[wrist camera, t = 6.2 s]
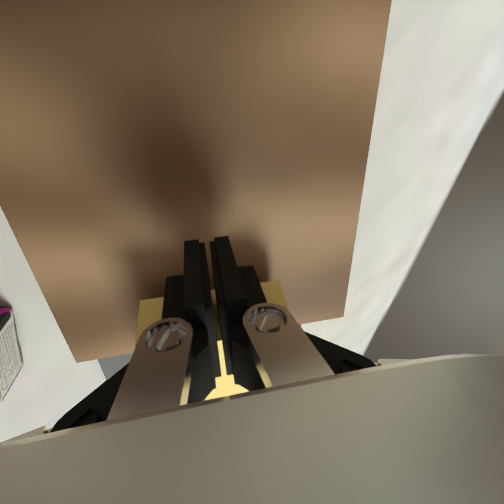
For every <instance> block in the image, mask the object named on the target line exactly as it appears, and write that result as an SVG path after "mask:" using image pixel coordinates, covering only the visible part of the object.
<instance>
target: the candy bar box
mask: <svg viewBox="0 0 504 504" xmlns="http://www.w3.org/2000/svg"><path fill="white" fill-rule="evenodd" d="M22 366H23V358H22V352H21V348H20V345H19V342H18V338H17V332H16V325H15V320H14V316H13V310H12V309H11V308H6V307H0V404H1V403H2V401H3V399H4V397H5V396H6V394H7V392H8V391H9V389H10V387H11V385H12V384H13V382H14V380H15V378H16V377H17V375H18V373H19V371H20V369H21V368H22Z"/></svg>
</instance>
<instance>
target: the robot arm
mask: <svg viewBox="0 0 504 504" xmlns="http://www.w3.org/2000/svg"><path fill="white" fill-rule="evenodd" d="M209 245H210V253H211V261H212V269H213V278H214V286H215V294H216V302H217V309H218V316H219V323H220V330H221V337H222V345H223V352H224V359H225V366H226V373H227V375H232V374H233V376H234V382H235V385H236V384H238V385H240V386H242V387H243V388H245V389H247V391H248V392H244V393H239V394H234V395H229V396H224V397H219V398H214V399H209V400H206V399H205V398H206V397H207V396H208V395H209V394H210V393H211V391H212V390H213V389H216V381H215V378H216V377H221V368H220V360H219V351H218V343H217V335H216V327H215V319H214V311H213V303H212V295H211V287H210V280H209V272H208V264H207V257H206V249H205V242H203V243H199V239H197V240H188V241H184V272H183V275H176V276H168V277H166V283H165V292H164V301H163V310H162V318H161V320H159V321H156V322H154V323H153V324H151V325H149V326H148V327H147V328H146V329H145V330H144V331H143V332H142V334H141V336H140V337H139V340H138V342H137V345H136V347H135V350H134V352H133V355H132V357H131V360H130V362H129V363H128V364H126V365H125V366H124V367H123V368H121V369H120V370H119V371H118V372H116V373H115V374H114V375H113V376H111V377H110V378H109V379H108V380H107V381H105V382H104V383H103V384H102V385H100V386H99V387H98V388H97V389H95V390H94V391H93V392H92V393H90V394H89V395H88V396H87V397H85V398H84V399H83V400H82V401H81V402H79V403H78V404H77V405H76V406H74V407H73V408H72V409H71V410H69V411H68V412H67V413H66V414H65V415H64V416H63V417H62V418H61V419H59V420H58V421H57V423H56V424H55V425H54V427H53V428H51V429H48V430H47V429H46V427H45V426H42V427H40V428H37V429H35V430H32V431H29V432H27V433H24V434H22V435H19V436H17V437H14V438H11V439H9V440H6V441H4V442H1V443H0V504H504V356H501V355H494V354H456V355H443V356H436V357H430V358H422V359H379V361H378V363H373V362H372V361H371V360H369V359H368V358H366V357H364V356H362V355H360V354H357V353H355V352H353V351H350V350H348V349H345V348H343V347H340V346H338V345H336V344H333V343H331V342H328V341H326V340H324V339H321V338H319V337H316V336H314V335H311V334H309V333H307V332H304V331H303V329H302V328H301V327H300V325H299V324H298V322H297V321H296V320H295V318H294V317H293V316H292V314H291V313H290V312H289V311H288V310H287V309H286V308H285V307H283V306H281V305H278V304H274V303H267V300H266V297H265V295H264V292H263V290H262V287H261V284H260V282H259V279H258V277H257V274H256V271H255V269H254V267H253V265H249V266H242V267H237V264H236V261H235V257H234V254H233V251H232V247H231V244H230V240H229V237H228V236H222V237H214V241H211V242H209Z"/></svg>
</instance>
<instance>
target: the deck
mask: <svg viewBox="0 0 504 504" xmlns="http://www.w3.org/2000/svg"><path fill="white" fill-rule="evenodd" d="M390 7H391V0H0V206H1V208H2V210H3V212H4V214H5V216H6V218H7V220H8V222H9V225H10V227H11V229H12V231H13V233H14V235H15V237H16V239H17V241H18V243H19V245H20V247H21V249H22V251H23V253H24V255H25V257H26V260H27V262H28V264H29V266H30V268H31V270H32V272H33V274H34V276H35V278H36V280H37V282H38V284H39V286H40V288H41V290H42V293H43V295H44V297H45V299H46V301H47V303H48V305H49V307H50V309H51V311H52V313H53V315H54V317H55V319H56V321H57V323H58V325H59V328H60V330H61V332H62V334H63V336H64V338H65V340H66V342H67V344H68V346H69V348H70V350H71V352H72V354H73V356H74V358H75V361H76V363H77V362H83V361H89V360H95V359H101V358H106V357H112V356H118V355H124V354H130V353H133V352H134V350H135V342H136V333H137V323H138V314H139V304H140V300H146V299H153V298H160V297H164V292H165V283H166V277H168V276H176V275H183V272H184V241H188V240H197V239H199V243H203V242H205V249H206V257H207V264H208V272H209V280H210V287H211V290H214V289H215V286H214V278H213V269H212V261H211V253H210V245H209V242H211V241H214V237H222V236H228V237H229V240H230V244H231V247H232V251H233V254H234V257H235V261H236V264H237V267H242V266H249V265H253V267H254V269H255V271H256V274H257V277H258V279H259V282H260V283H262V282H269V281H276V280H279V283H280V285H281V288H282V291H283V294H284V296H285V299H286V302H287V305H288V308H289V310H290V313H291V314H292V316H293V317H294V318H295V320H296V321H297V322H298V324H304V323H310V322H316V321H322V320H327V319H333V318H339V317H343V315H344V309H345V302H346V296H347V289H348V283H349V276H350V269H351V263H352V256H353V250H354V243H355V237H356V230H357V224H358V217H359V210H360V204H361V197H362V191H363V184H364V178H365V171H366V164H367V158H368V151H369V145H370V138H371V132H372V125H373V118H374V112H375V105H376V99H377V92H378V86H379V79H380V73H381V66H382V59H383V53H384V46H385V40H386V33H387V27H388V20H389V13H390Z"/></svg>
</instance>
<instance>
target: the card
mask: <svg viewBox="0 0 504 504" xmlns="http://www.w3.org/2000/svg"><path fill="white" fill-rule="evenodd" d="M260 284H261V287H262V290H263V292H264V295H265V297H266V300H267V303H274V304H278V305H281V306H283V307H285V308H286V309H287V310H288V311H289V312H290V310H289V308H288V305H287V302H286V299H285V296H284V294H283V291H282V288H281V285H280V283H279V280H276V281H269V282H262V283H260ZM211 295H212V303H213V311H214V319H215V327H216V335H217V343H218V351H219V360H220V368H221V377H216V378H215V381H216V389H213V390H212V391H211V393H210V394H209V395H208V396H207V397H206V398H205V399H206V400H209V399H214V398H219V397H224V396H229V395H234V394H239V393H244V392H248V391H247V389H245V388H243V387H242V386H240V385H238V384H236V385H235V382H234V376H233V374H232V375H227V373H226V366H225V359H224V352H223V345H222V337H221V330H220V323H219V316H218V309H217V302H216V294H215V289H214V290H211ZM163 301H164V297H160V298H153V299H146V300H140V304H139V314H138V323H137V333H136V342H135V347H136V345H137V342H138V340H139V337H140V336H141V334H142V332H143V331H144V330H145V329H146V328H147V327H148V326H149V325H151V324H153V323H154V322H156V321H159V320H161V318H162V310H163Z"/></svg>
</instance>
